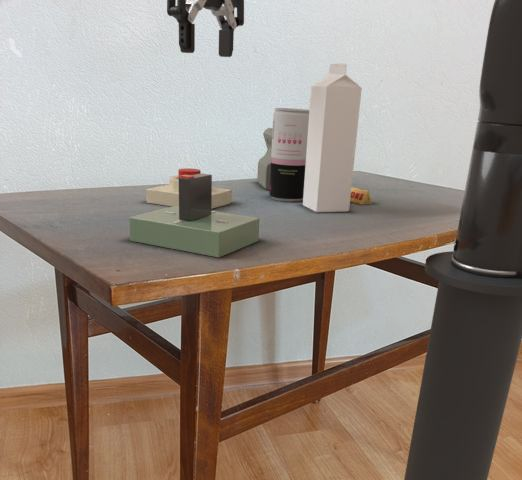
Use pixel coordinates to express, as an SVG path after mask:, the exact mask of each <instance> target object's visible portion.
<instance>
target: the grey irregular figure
mask: <svg viewBox="0 0 522 480" xmlns="http://www.w3.org/2000/svg"><path fill="white" fill-rule="evenodd" d="M272 131H273V127H267V128H266V129H265V130H264V131H263V134H262V135H263V139H264V143H265V146H266V149H267V150H266V152H265V153H264V155H263V156H262V157H261V158H259V159H258V162H257V177H256V178H257V179H256V181H257V183H258V184H259V185H261V186H262V187H263V188H264V189H265V190H268V191H270V171H271V151H272Z"/></svg>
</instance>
